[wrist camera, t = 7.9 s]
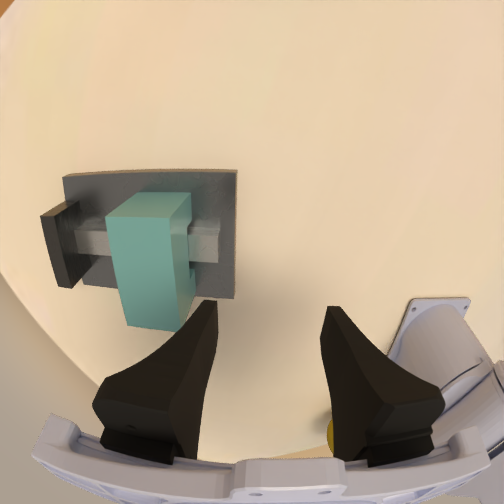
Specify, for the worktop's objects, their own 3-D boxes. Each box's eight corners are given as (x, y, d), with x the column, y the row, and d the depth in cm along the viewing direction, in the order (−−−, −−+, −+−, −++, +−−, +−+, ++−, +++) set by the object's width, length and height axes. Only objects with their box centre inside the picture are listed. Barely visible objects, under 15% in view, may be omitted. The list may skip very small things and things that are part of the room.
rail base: (237, 169, 20) (229, 185, 16) (235, 291, 24) (229, 327, 20) (69, 174, 20) (35, 189, 16) (88, 278, 24) (65, 306, 20)
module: (191, 192, 19) (169, 217, 15) (196, 290, 23) (181, 332, 19) (137, 192, 20) (105, 216, 15) (149, 286, 23) (127, 325, 19)
